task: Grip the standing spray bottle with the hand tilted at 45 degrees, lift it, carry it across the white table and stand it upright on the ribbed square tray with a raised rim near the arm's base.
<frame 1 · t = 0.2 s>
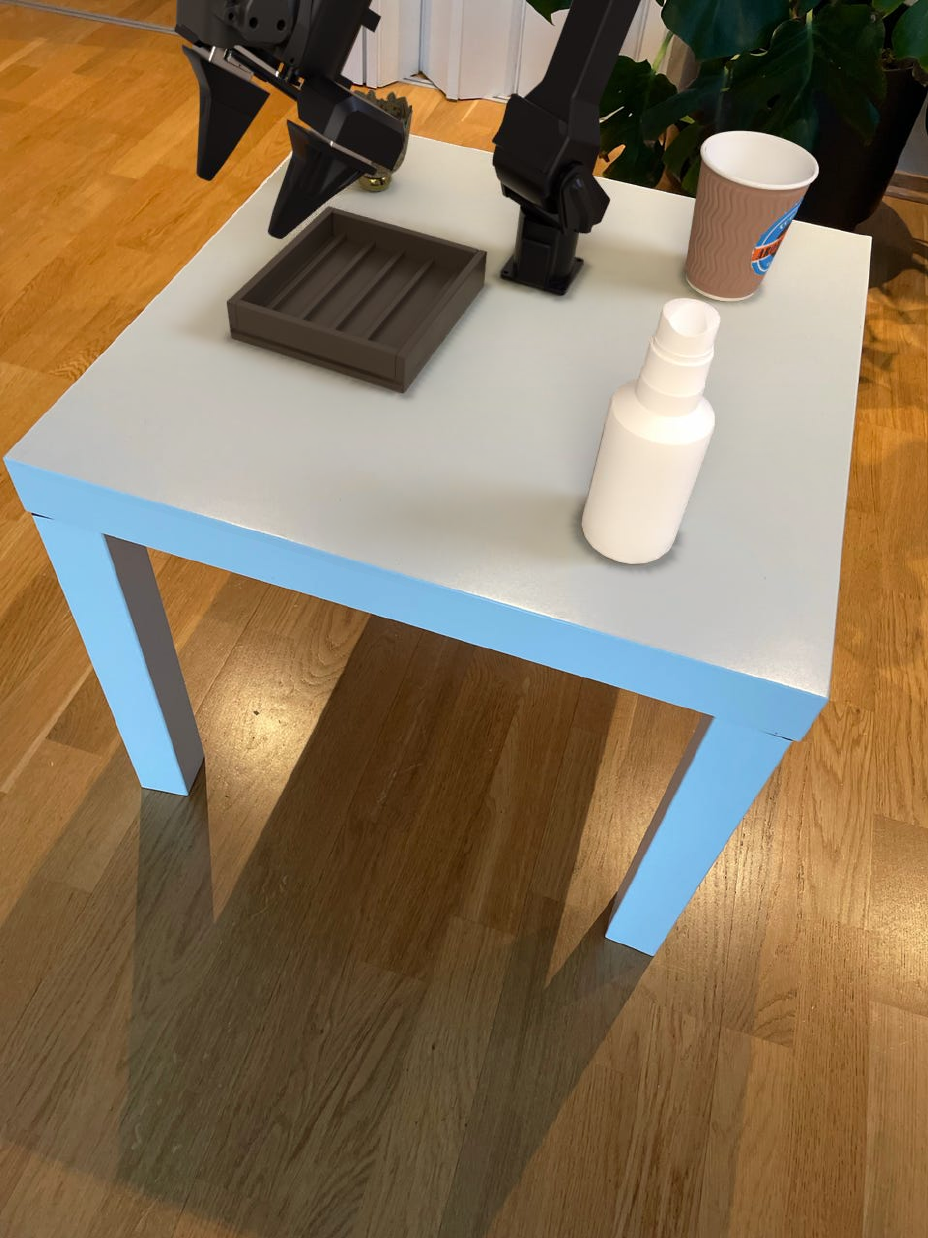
hand: (237, 206, 65), 15 cm above the table, tool tilted 35°, fingers open, 9 cm apart
coffee cup: (720, 283, 91), on the table
spray bottle: (626, 533, 69), on the table
cup: (374, 187, 98), on the table
ribbed square tray: (363, 310, 84), on the table
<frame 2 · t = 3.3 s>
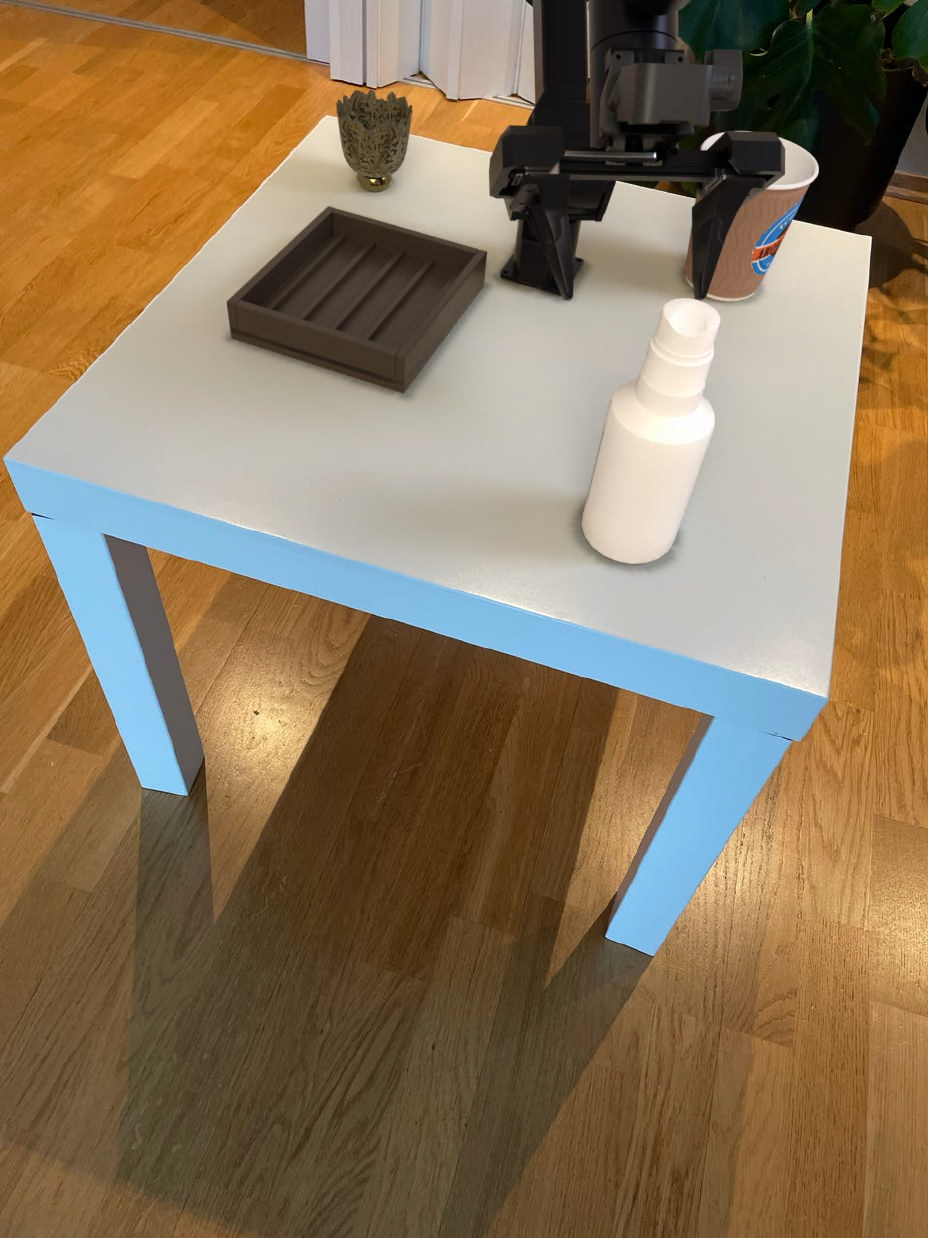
hand: (635, 299, 63), 14 cm above the table, tool tilted 45°, fingers open, 9 cm apart
nothing on the table moved.
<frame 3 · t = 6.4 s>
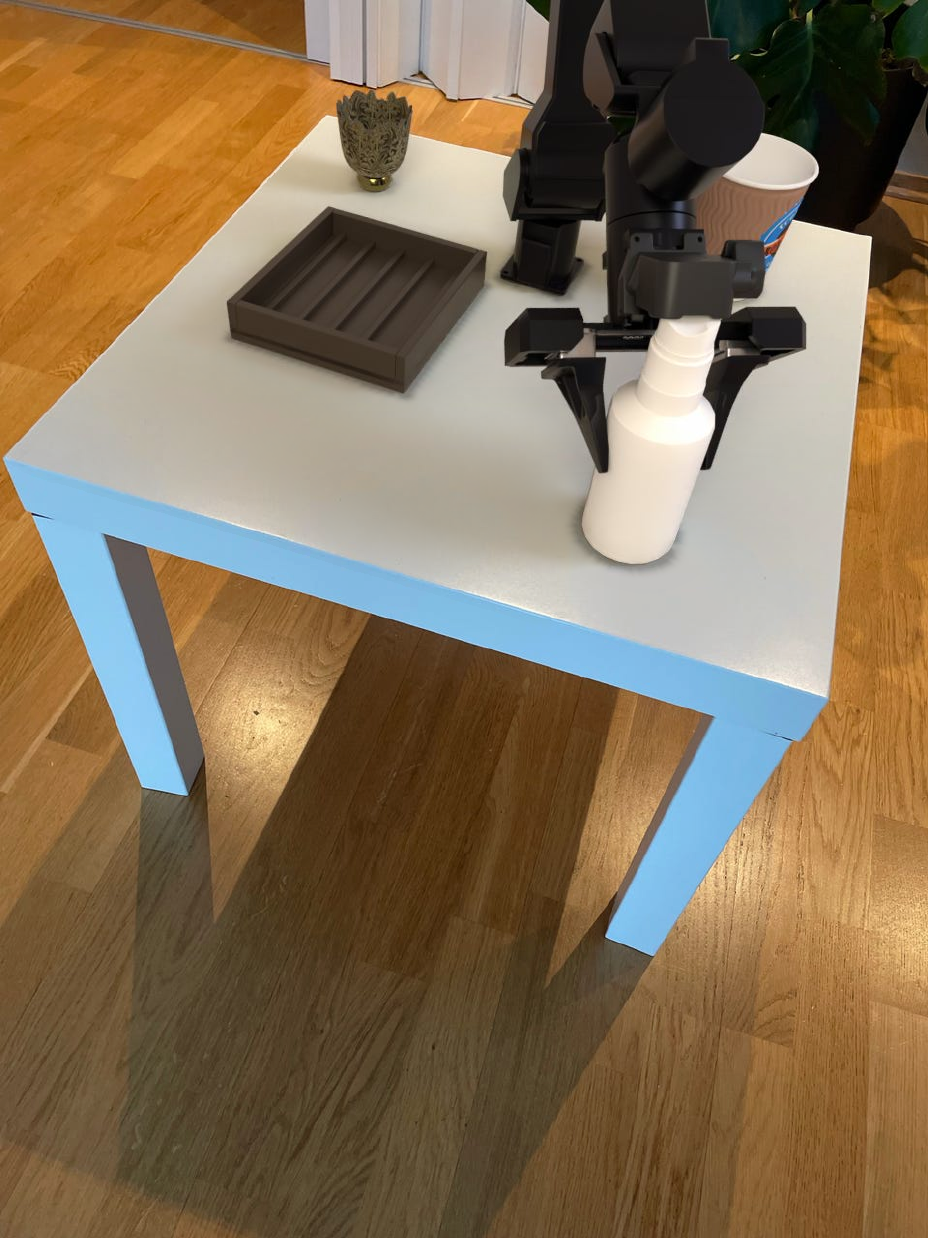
hand: (654, 471, 62), 7 cm above the table, tool tilted 45°, fingers closed on spray bottle, 7 cm apart
spray bottle: (626, 533, 69), on the table, touching gripper
everything else where it was.
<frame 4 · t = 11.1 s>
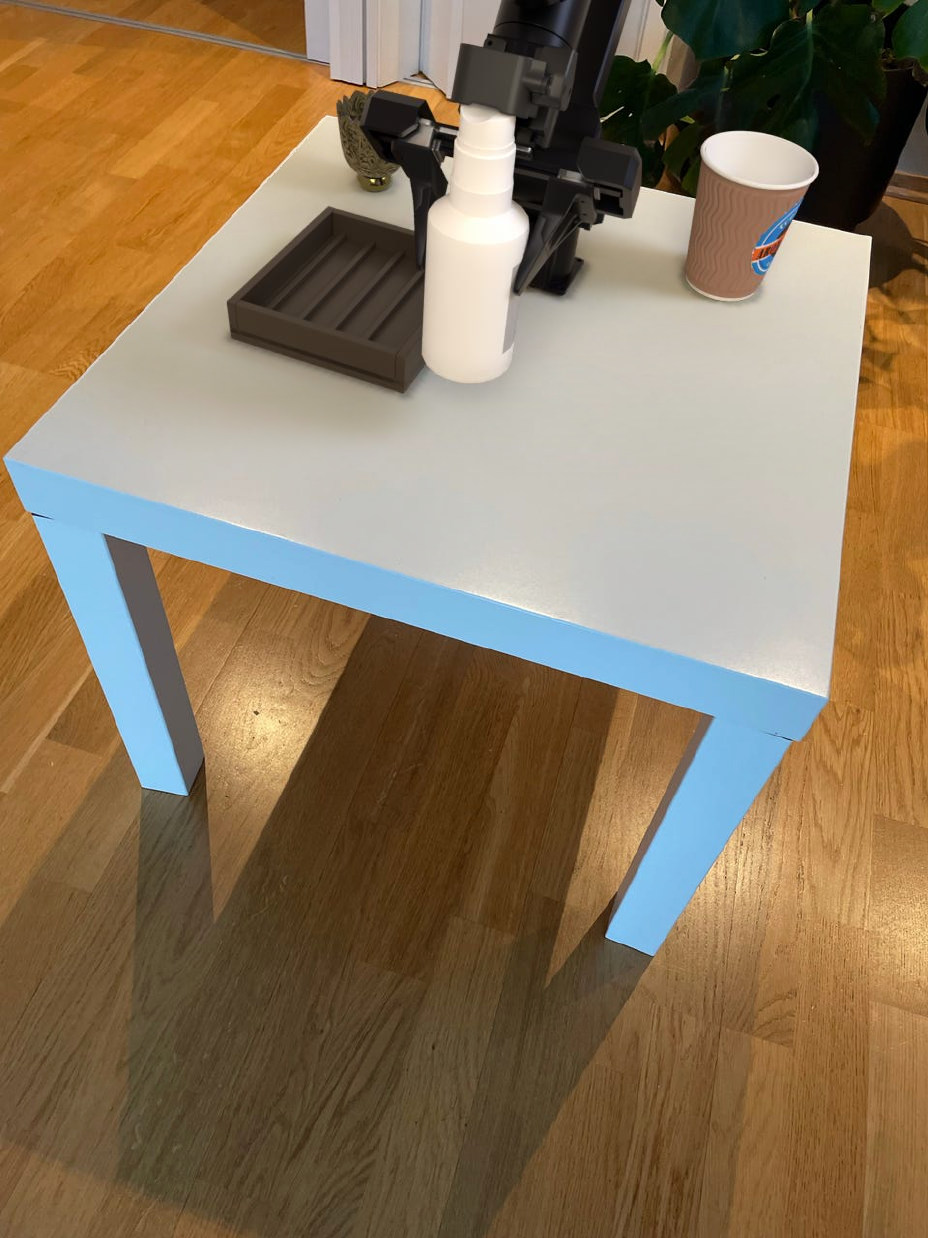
hand: (467, 281, 65), 13 cm above the table, tool tilted 45°, fingers closed on spray bottle, 7 cm apart
spray bottle: (466, 359, 71), point 6 cm above the table, touching gripper
everything else where it was.
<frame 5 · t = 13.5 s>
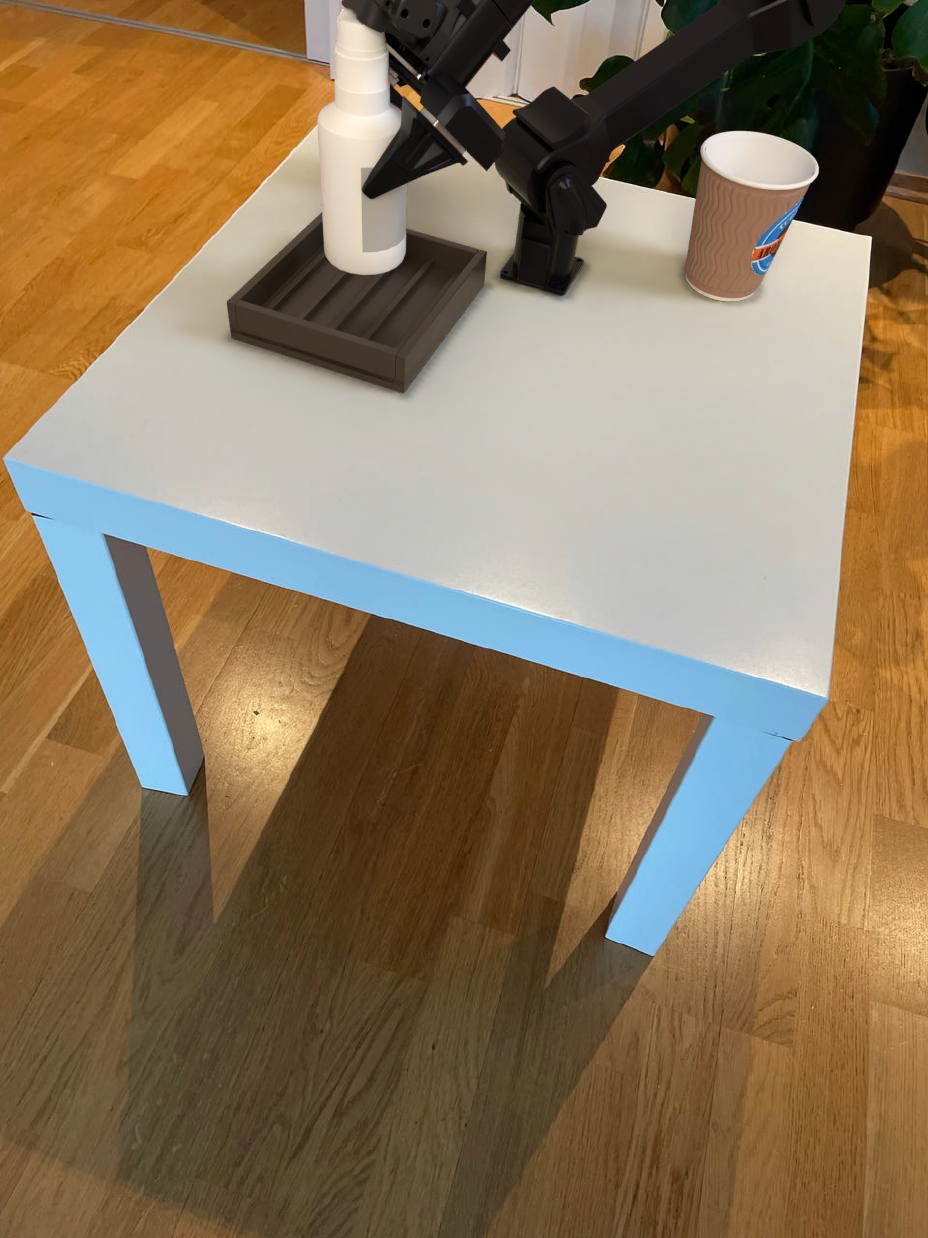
hand: (347, 173, 74), 12 cm above the table, tool tilted 45°, fingers closed on spray bottle, 7 cm apart
spray bottle: (365, 256, 80), point 5 cm above the table, touching gripper
everything else where it was.
when the fingers open (9 cm above the table, at t = 15.6 s): spray bottle stays where it is, resting on ribbed square tray.
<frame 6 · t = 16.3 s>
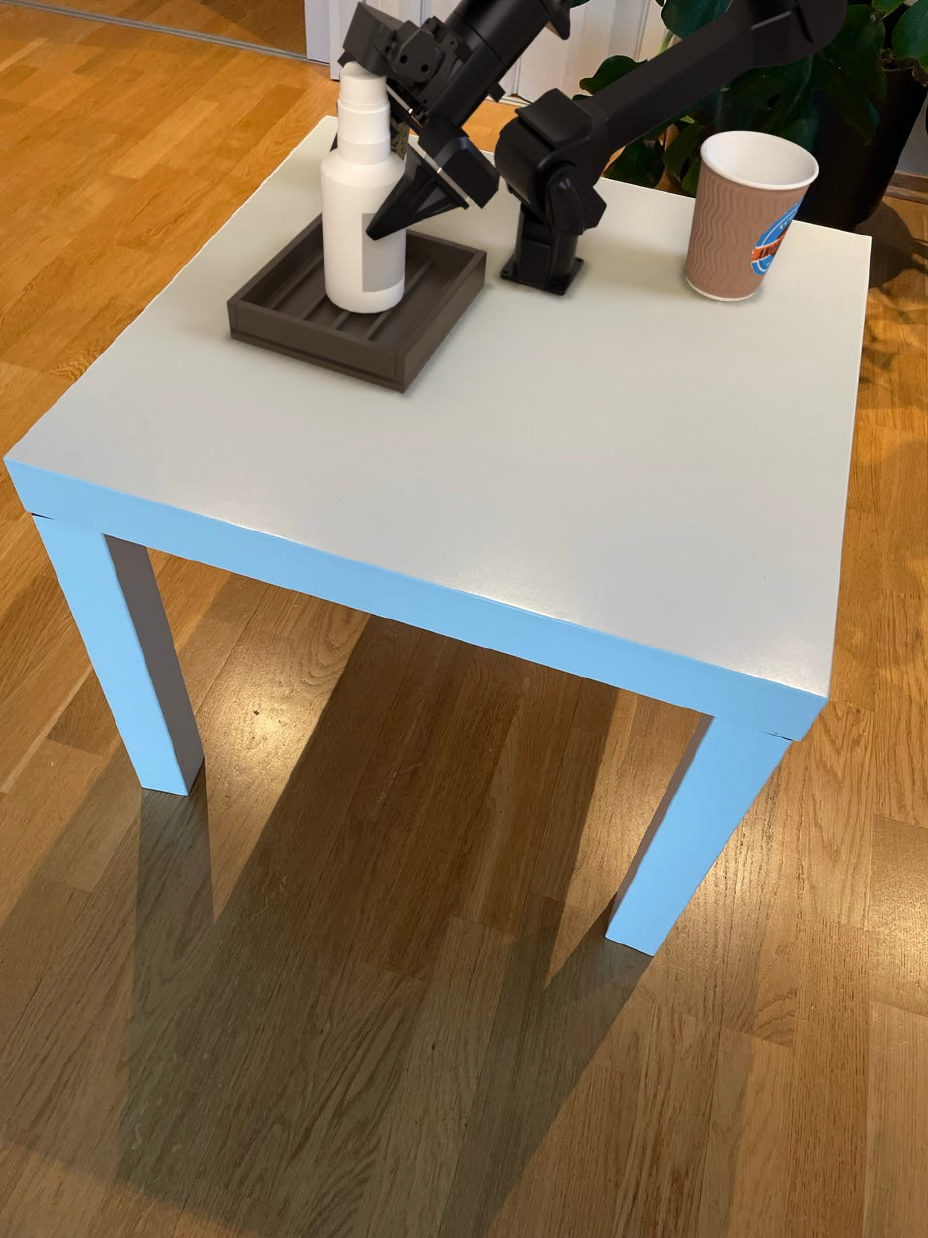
hand: (346, 208, 76), 10 cm above the table, tool tilted 45°, fingers open, 9 cm apart
spray bottle: (364, 294, 82), point 2 cm above the table, touching ribbed square tray
everything else where it was.
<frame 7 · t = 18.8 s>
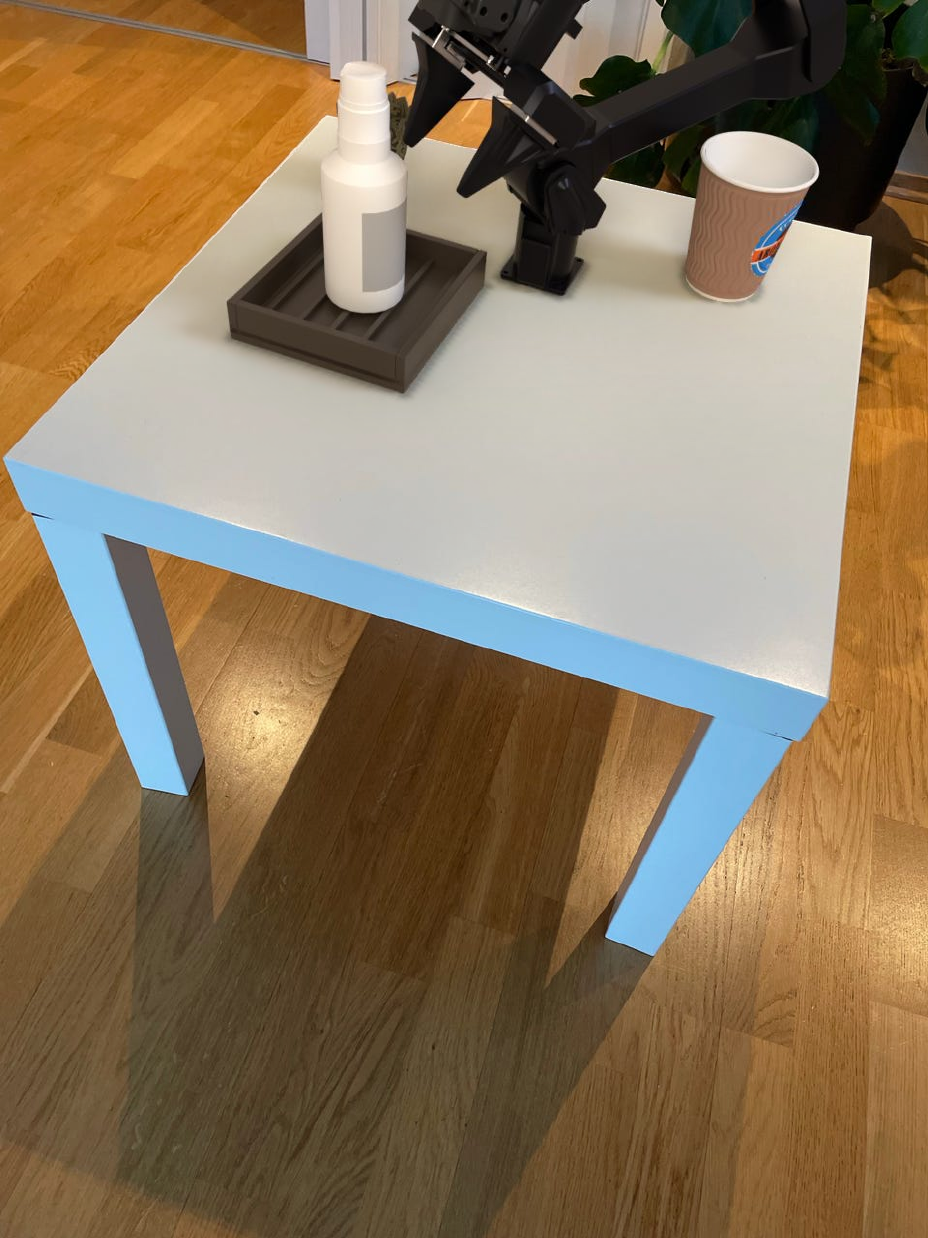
hand: (432, 168, 76), 12 cm above the table, tool tilted 35°, fingers open, 9 cm apart
coffee cup: (719, 283, 91), on the table, touching arm
everything else where it was.
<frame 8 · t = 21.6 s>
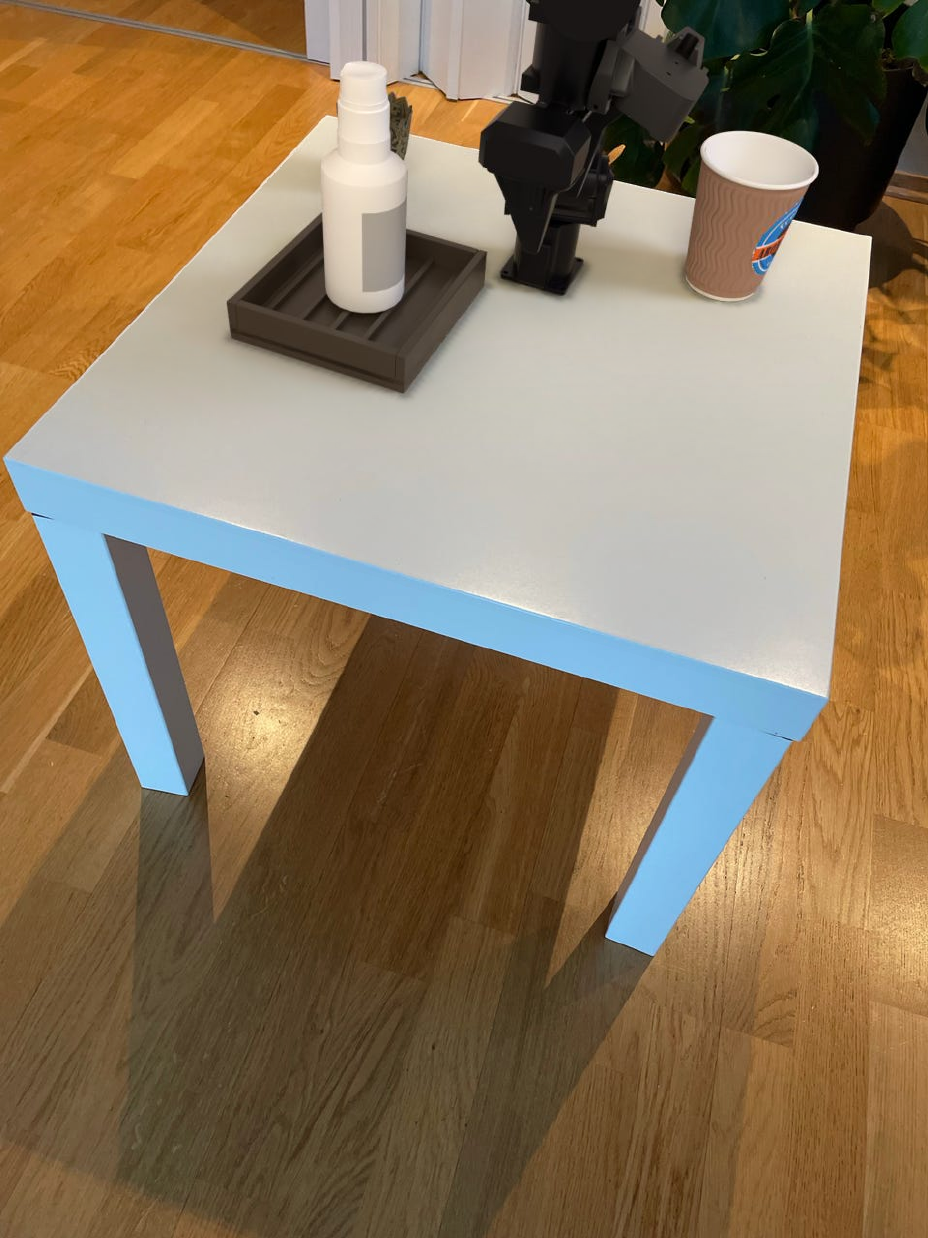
hand: (551, 223, 70), 13 cm above the table, tool pointing down, fingers open, 9 cm apart
coffee cup: (719, 283, 91), on the table
everything else where it was.
at the end: spray bottle inside the target area on the ribbed square tray (0.1 cm from its centre), point 1.6 cm above the ribbed square tray's base; spray bottle tilted 0° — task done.
